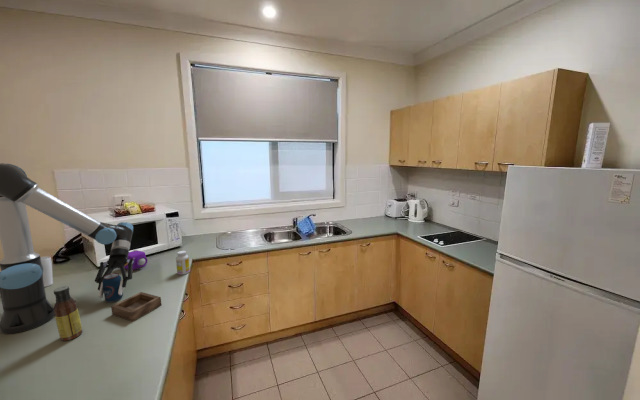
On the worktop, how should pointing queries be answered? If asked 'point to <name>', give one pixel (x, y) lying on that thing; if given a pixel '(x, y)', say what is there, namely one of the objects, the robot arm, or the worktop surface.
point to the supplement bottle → (182, 263)
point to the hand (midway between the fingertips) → (110, 295)
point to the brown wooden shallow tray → (136, 306)
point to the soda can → (112, 287)
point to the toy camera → (137, 259)
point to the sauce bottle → (66, 314)
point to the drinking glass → (47, 271)
